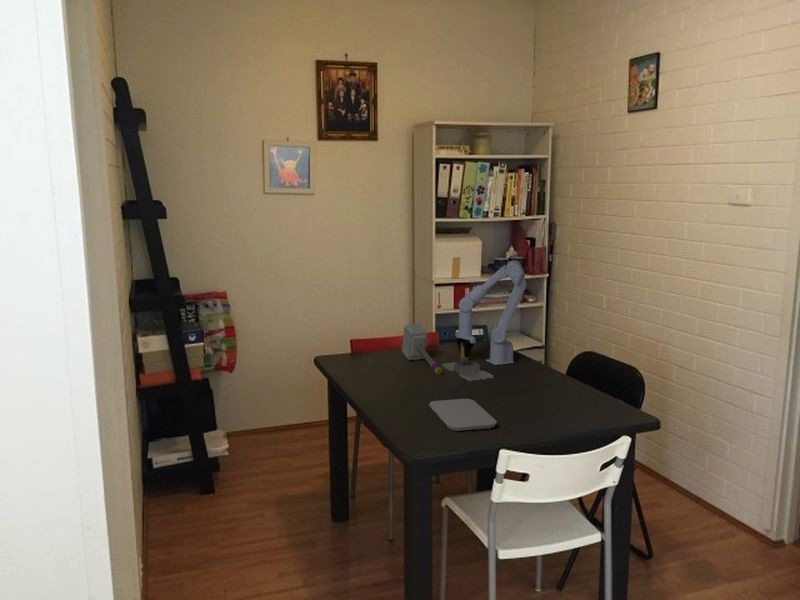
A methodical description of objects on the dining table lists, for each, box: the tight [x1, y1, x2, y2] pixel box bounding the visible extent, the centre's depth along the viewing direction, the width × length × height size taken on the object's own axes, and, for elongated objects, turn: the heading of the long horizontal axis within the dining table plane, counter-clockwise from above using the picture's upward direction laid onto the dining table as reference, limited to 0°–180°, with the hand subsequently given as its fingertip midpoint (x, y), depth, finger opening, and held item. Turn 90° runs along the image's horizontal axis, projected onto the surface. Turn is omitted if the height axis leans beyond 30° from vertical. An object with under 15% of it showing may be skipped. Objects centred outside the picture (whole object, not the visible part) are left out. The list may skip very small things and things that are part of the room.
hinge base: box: [441, 359, 494, 382], centre depth 279 cm, size 11×23×4 cm, turn 23°
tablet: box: [428, 398, 497, 431], centre depth 226 cm, size 16×26×2 cm, turn 14°
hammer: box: [401, 322, 443, 376], centre depth 287 cm, size 15×8×30 cm
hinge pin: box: [460, 342, 470, 362], centre depth 296 cm, size 4×4×8 cm
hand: (464, 355), depth 297 cm, fingers closed on hinge pin, 4 cm apart
